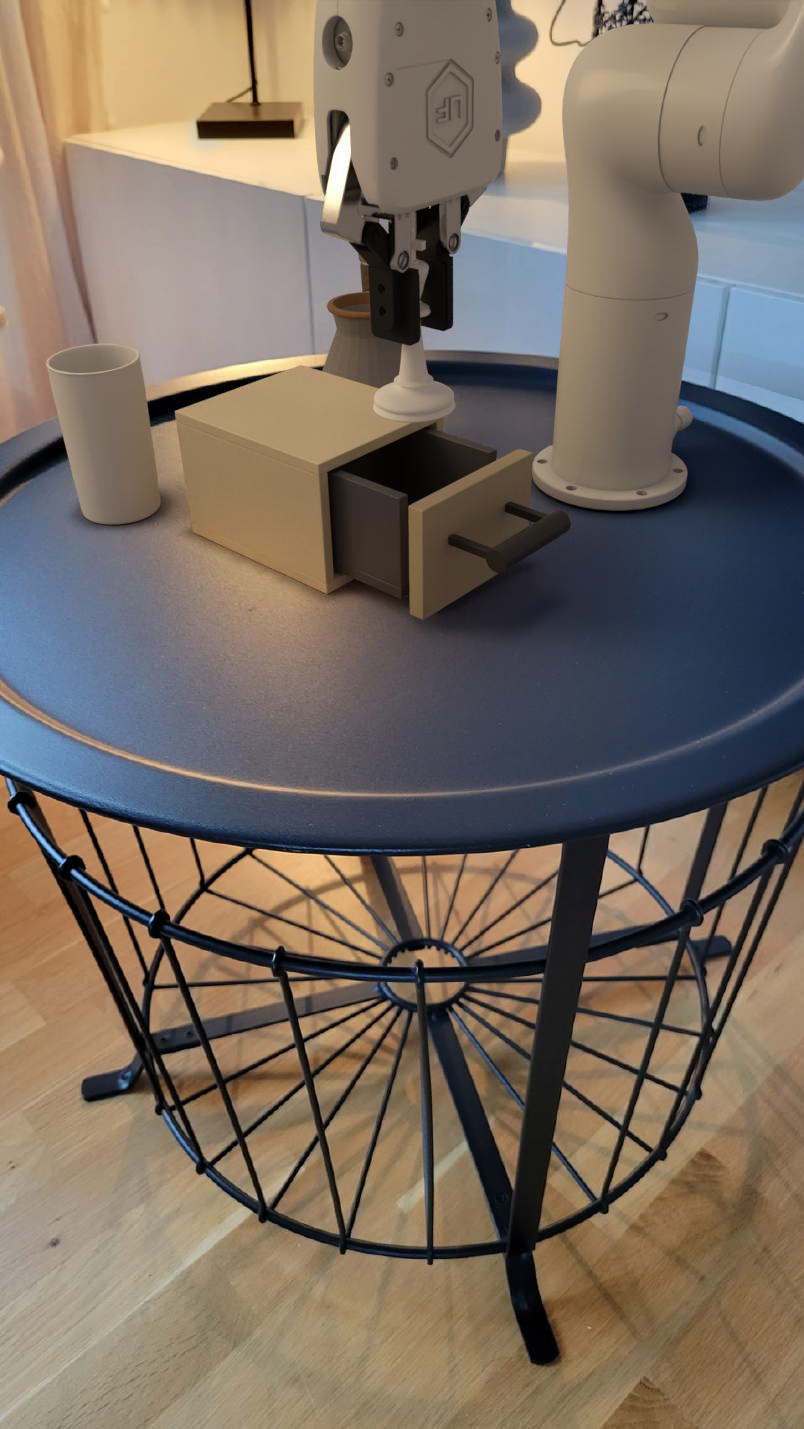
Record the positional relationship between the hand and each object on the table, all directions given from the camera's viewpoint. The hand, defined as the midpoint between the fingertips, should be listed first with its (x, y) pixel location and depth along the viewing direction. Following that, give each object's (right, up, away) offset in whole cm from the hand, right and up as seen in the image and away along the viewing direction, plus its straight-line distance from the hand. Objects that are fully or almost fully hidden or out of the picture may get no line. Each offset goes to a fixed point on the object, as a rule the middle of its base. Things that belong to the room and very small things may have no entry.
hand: (412, 330), depth 60 cm
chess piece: (0, -4, +3) cm, 5 cm away
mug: (-23, -5, +26) cm, 35 cm away
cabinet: (-7, -8, +21) cm, 23 cm away
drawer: (+1, -12, +14) cm, 18 cm away
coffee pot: (-3, +4, +36) cm, 36 cm away
